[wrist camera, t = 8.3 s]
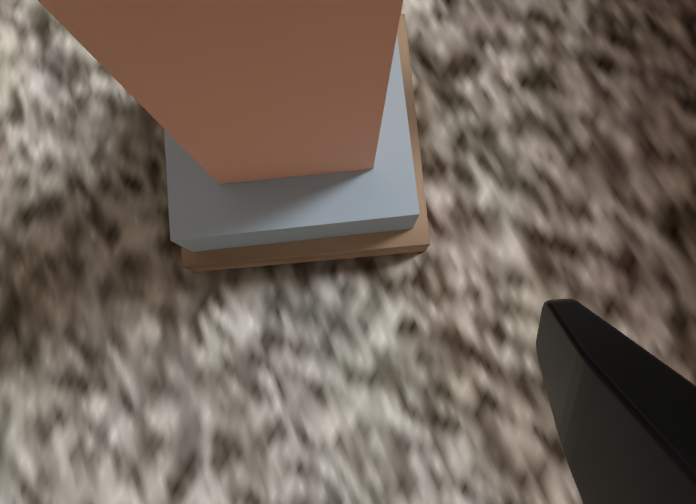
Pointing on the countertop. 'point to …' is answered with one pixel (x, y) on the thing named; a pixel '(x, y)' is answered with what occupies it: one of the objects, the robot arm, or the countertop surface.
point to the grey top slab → (298, 194)
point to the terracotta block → (250, 76)
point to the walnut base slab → (335, 246)
